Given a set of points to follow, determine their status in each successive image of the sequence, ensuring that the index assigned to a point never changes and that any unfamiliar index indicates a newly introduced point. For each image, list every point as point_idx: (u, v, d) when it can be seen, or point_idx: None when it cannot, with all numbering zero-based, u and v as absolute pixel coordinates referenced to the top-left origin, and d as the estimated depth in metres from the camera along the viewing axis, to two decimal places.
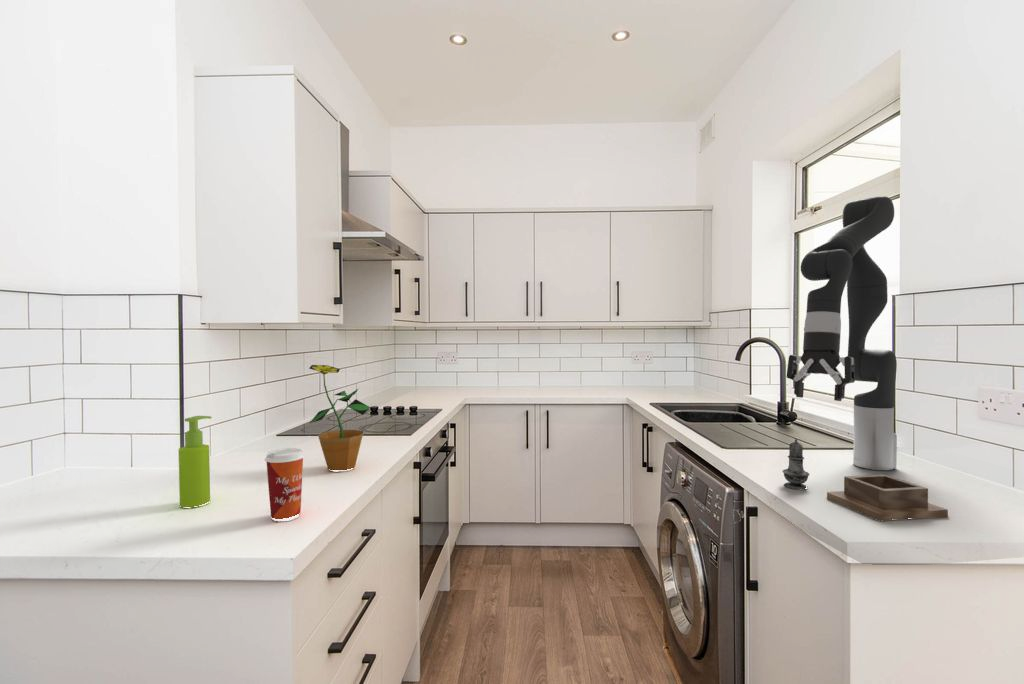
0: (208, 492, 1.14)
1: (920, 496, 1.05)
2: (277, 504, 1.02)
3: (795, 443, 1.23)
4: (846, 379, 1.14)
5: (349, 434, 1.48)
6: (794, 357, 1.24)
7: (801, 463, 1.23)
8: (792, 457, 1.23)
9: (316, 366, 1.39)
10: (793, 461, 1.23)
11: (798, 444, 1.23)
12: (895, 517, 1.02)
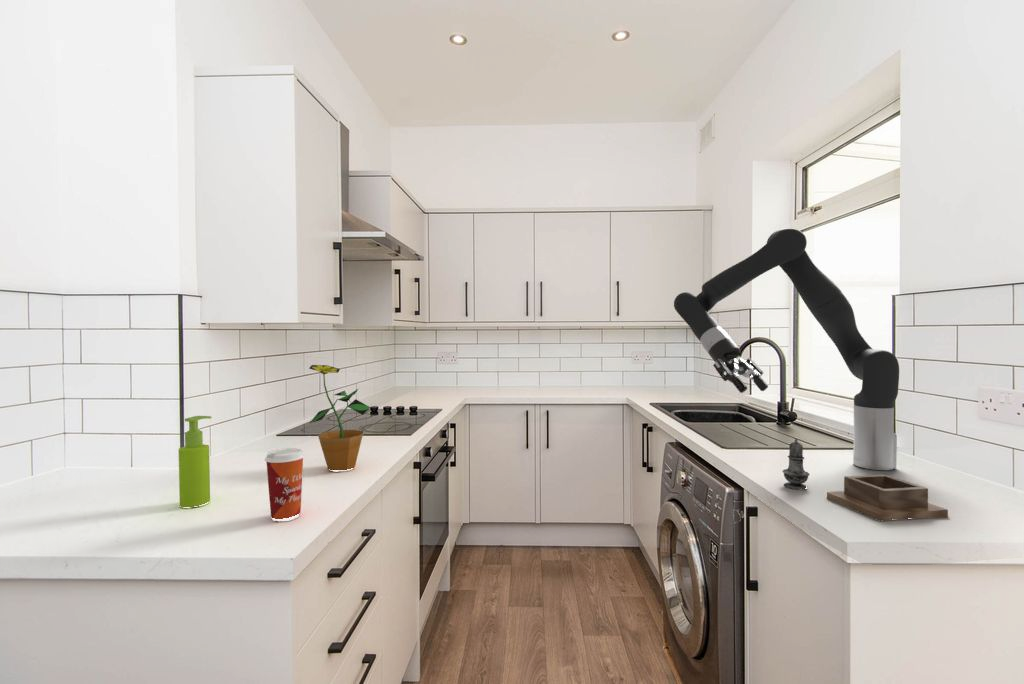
0: (208, 492, 1.14)
1: (920, 496, 1.05)
2: (277, 504, 1.02)
3: (795, 443, 1.23)
4: None
5: (349, 434, 1.48)
6: None
7: (801, 463, 1.23)
8: (792, 457, 1.23)
9: (316, 366, 1.39)
10: (793, 461, 1.23)
11: (798, 444, 1.23)
12: (895, 517, 1.02)
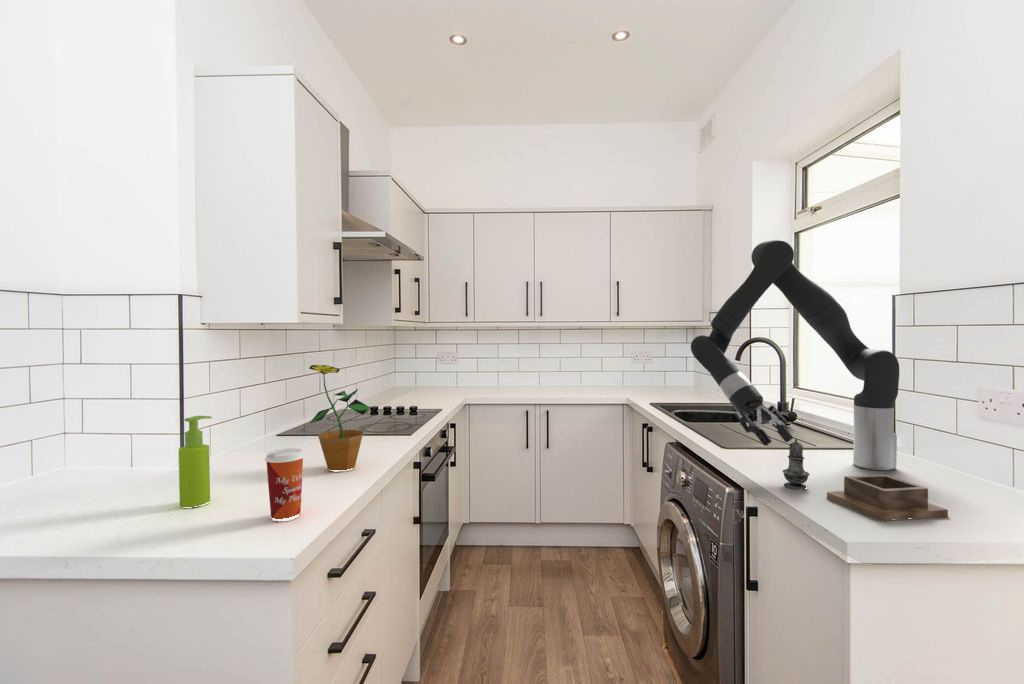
0: (208, 492, 1.14)
1: (920, 496, 1.05)
2: (277, 504, 1.02)
3: (795, 443, 1.23)
4: None
5: (349, 434, 1.48)
6: None
7: (801, 463, 1.23)
8: (792, 457, 1.23)
9: (316, 366, 1.39)
10: (793, 461, 1.23)
11: (798, 444, 1.23)
12: (895, 517, 1.02)
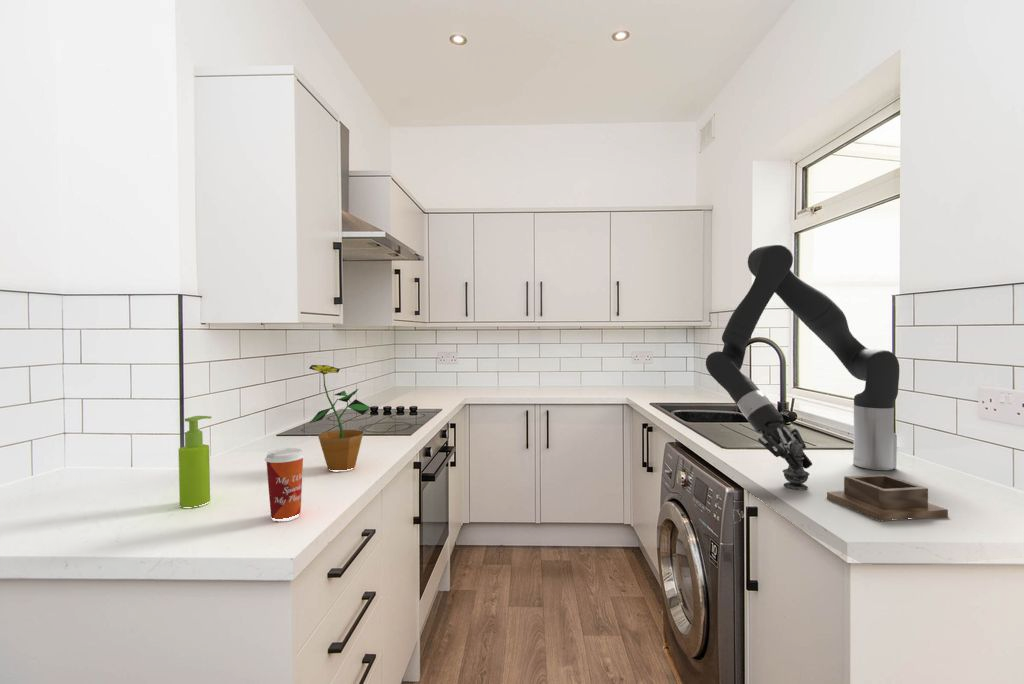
0: (208, 492, 1.14)
1: (920, 496, 1.05)
2: (277, 504, 1.02)
3: (795, 443, 1.23)
4: None
5: (349, 434, 1.48)
6: None
7: (801, 463, 1.23)
8: None
9: (316, 366, 1.39)
10: None
11: (798, 444, 1.23)
12: (895, 517, 1.02)
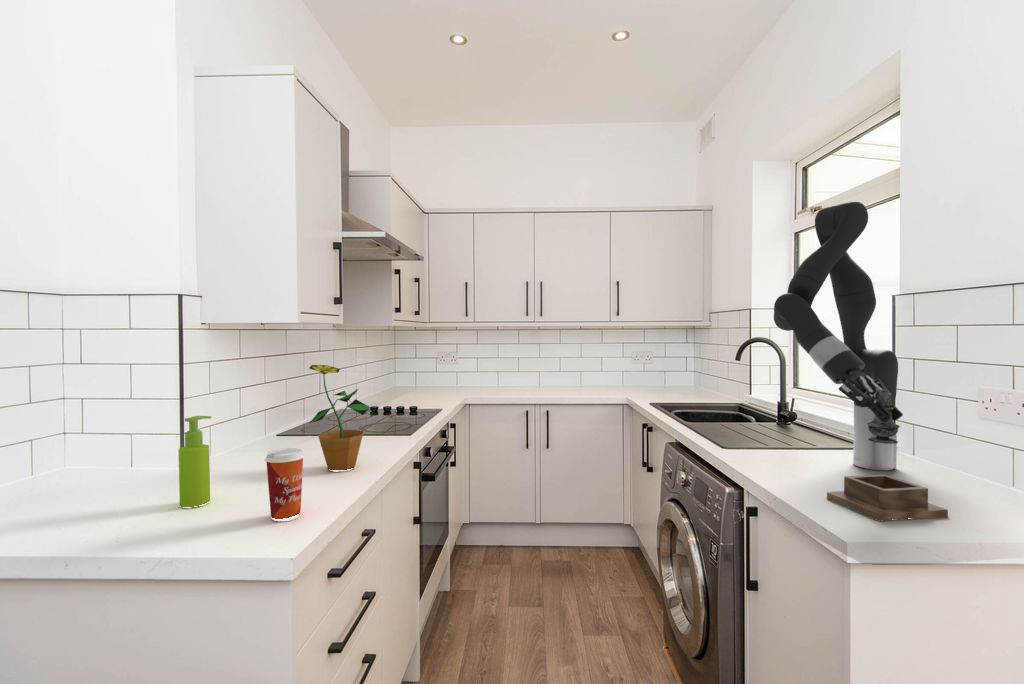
0: (208, 492, 1.14)
1: (920, 496, 1.05)
2: (277, 504, 1.02)
3: (883, 391, 1.08)
4: None
5: (349, 434, 1.48)
6: None
7: None
8: None
9: (316, 366, 1.39)
10: None
11: (886, 392, 1.08)
12: (895, 517, 1.02)
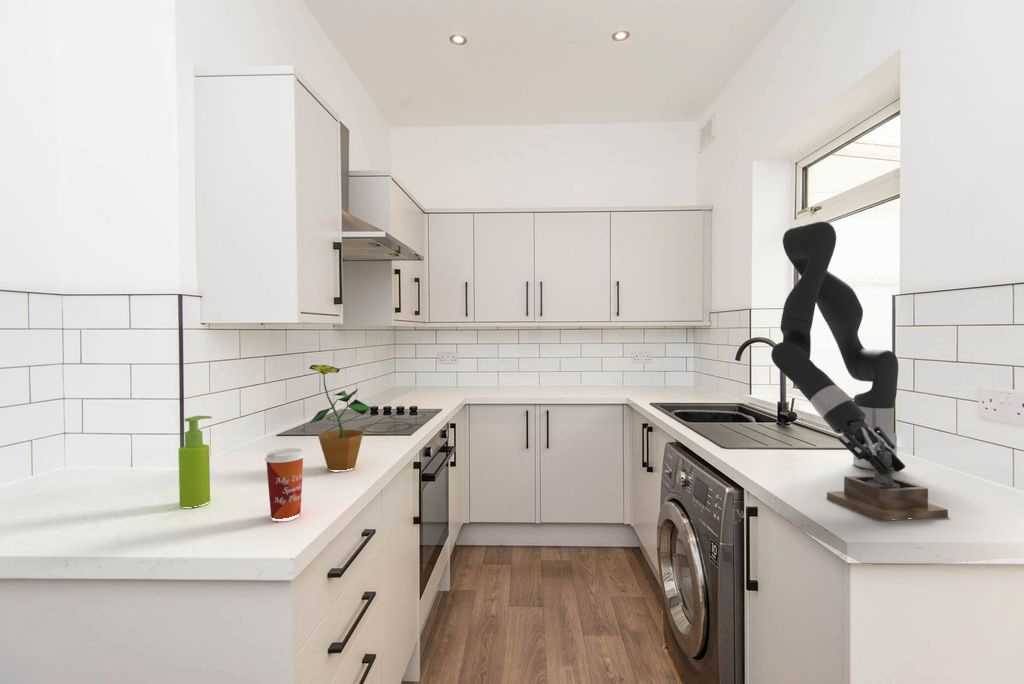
0: (208, 492, 1.14)
1: (920, 496, 1.05)
2: (277, 504, 1.02)
3: (883, 451, 1.09)
4: None
5: (349, 434, 1.48)
6: None
7: (890, 473, 1.08)
8: None
9: (316, 366, 1.39)
10: None
11: (887, 452, 1.08)
12: (895, 517, 1.02)
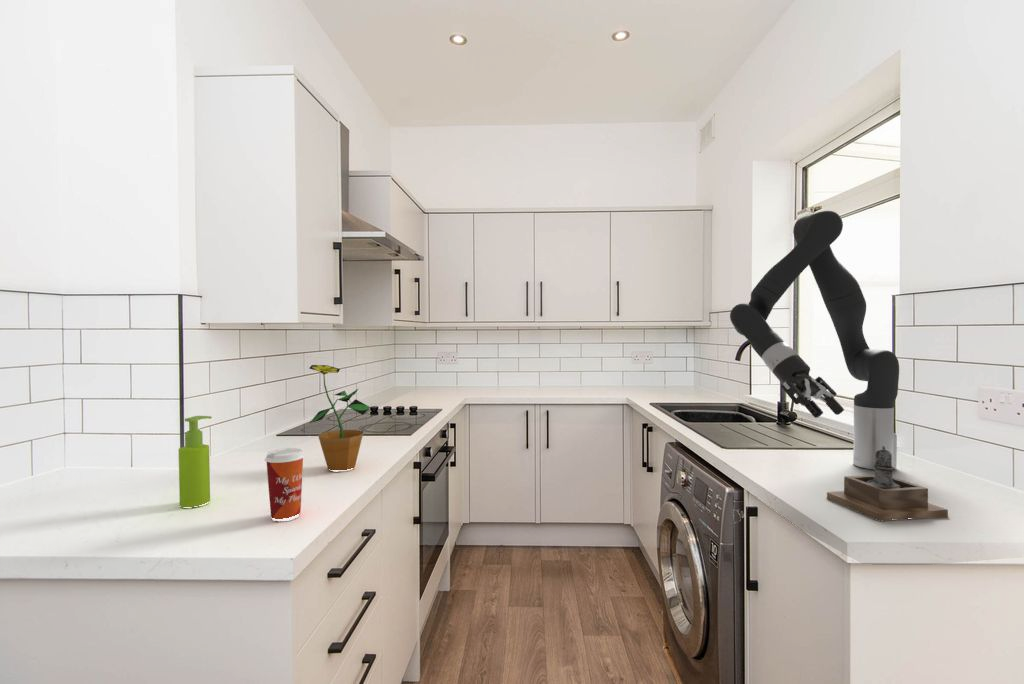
0: (208, 492, 1.14)
1: (920, 496, 1.05)
2: (277, 504, 1.02)
3: (883, 451, 1.09)
4: None
5: (349, 434, 1.48)
6: None
7: (890, 474, 1.08)
8: (880, 467, 1.08)
9: (316, 366, 1.39)
10: (881, 471, 1.08)
11: (887, 452, 1.08)
12: (895, 517, 1.02)
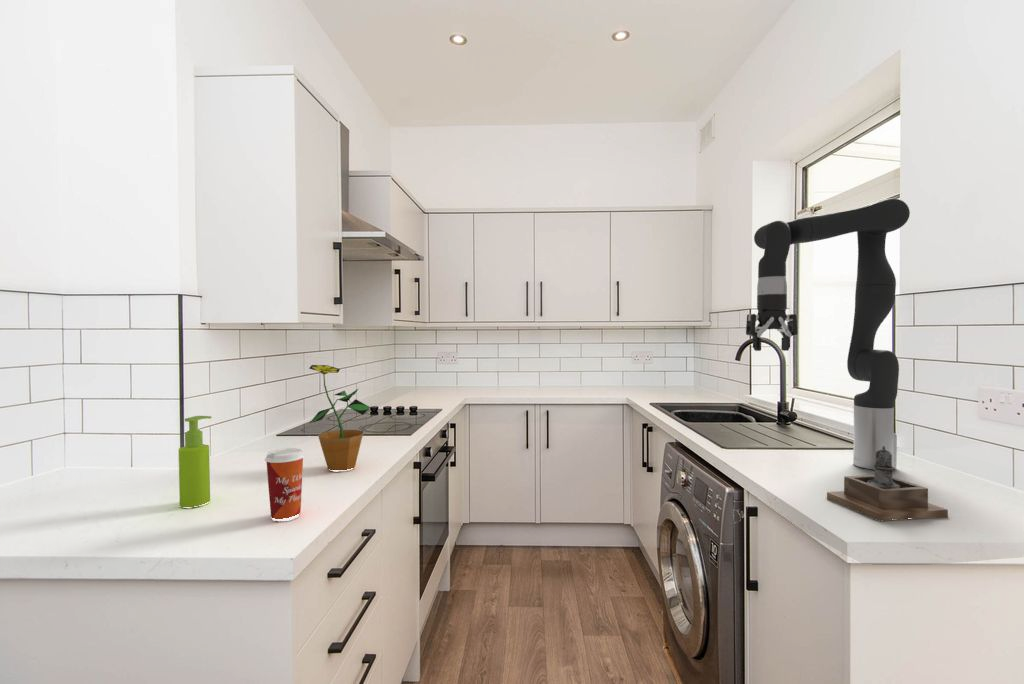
0: (208, 492, 1.14)
1: (920, 496, 1.05)
2: (277, 504, 1.02)
3: (883, 451, 1.09)
4: None
5: (349, 434, 1.48)
6: None
7: (890, 474, 1.08)
8: (880, 467, 1.08)
9: (316, 366, 1.39)
10: (881, 471, 1.08)
11: (887, 452, 1.08)
12: (895, 517, 1.02)
